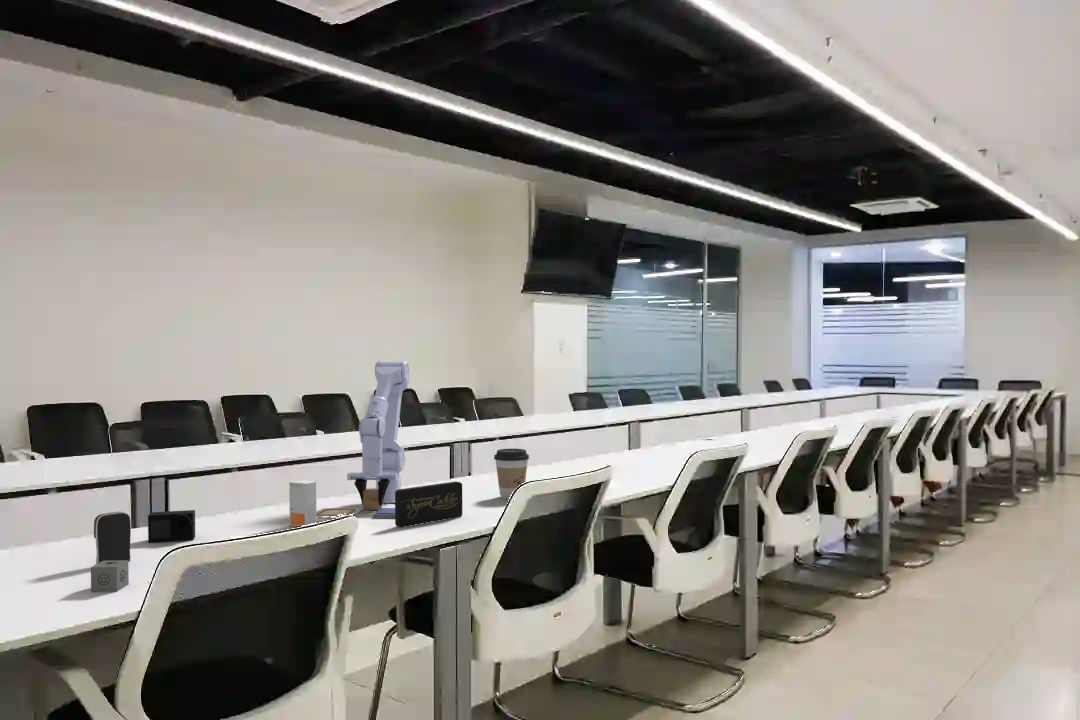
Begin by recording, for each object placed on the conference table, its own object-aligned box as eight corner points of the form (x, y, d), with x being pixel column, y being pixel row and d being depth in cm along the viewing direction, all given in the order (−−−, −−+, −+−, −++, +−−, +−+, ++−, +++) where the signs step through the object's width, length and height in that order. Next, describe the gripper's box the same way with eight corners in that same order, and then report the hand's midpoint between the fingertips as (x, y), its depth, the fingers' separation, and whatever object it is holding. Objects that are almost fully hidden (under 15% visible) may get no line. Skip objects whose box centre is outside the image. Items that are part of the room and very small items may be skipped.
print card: (322, 509, 243) (322, 507, 242) (362, 509, 242) (362, 508, 242) (308, 518, 231) (308, 516, 231) (350, 518, 230) (350, 516, 230)
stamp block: (367, 508, 244) (367, 488, 244) (381, 508, 244) (381, 488, 244) (363, 511, 240) (363, 491, 239) (378, 511, 239) (377, 491, 239)
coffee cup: (514, 502, 253) (514, 453, 253) (486, 498, 260) (486, 450, 260) (536, 496, 262) (536, 449, 262) (509, 492, 269) (509, 447, 269)
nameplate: (399, 528, 218) (398, 490, 217) (395, 527, 219) (395, 489, 219) (462, 517, 232) (462, 481, 232) (458, 516, 233) (458, 480, 233)
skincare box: (288, 526, 220) (288, 481, 220) (300, 523, 224) (300, 479, 224) (305, 528, 217) (305, 483, 217) (317, 525, 221) (316, 481, 221)
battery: (125, 559, 186) (124, 509, 186) (131, 562, 184) (131, 511, 183) (92, 565, 181) (91, 513, 181) (98, 568, 178) (97, 516, 178)
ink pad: (380, 511, 239) (380, 507, 239) (411, 512, 238) (411, 507, 238) (372, 518, 230) (372, 513, 230) (403, 518, 229) (403, 513, 229)
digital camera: (146, 544, 200) (146, 516, 200) (150, 539, 206) (150, 511, 206) (192, 541, 203) (192, 513, 203) (195, 536, 208) (195, 509, 208)
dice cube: (128, 584, 166) (128, 560, 166) (116, 592, 161) (116, 566, 161) (103, 585, 166) (103, 560, 166) (90, 592, 161) (90, 567, 161)
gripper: (343, 460, 238) (344, 506, 238) (393, 460, 237) (393, 507, 237) (351, 456, 245) (351, 502, 245) (399, 457, 244) (399, 502, 244)
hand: (372, 504), depth 242 cm, fingers closed on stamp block, 4 cm apart
